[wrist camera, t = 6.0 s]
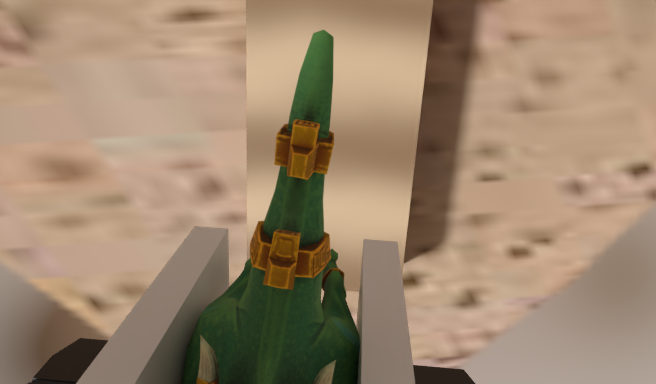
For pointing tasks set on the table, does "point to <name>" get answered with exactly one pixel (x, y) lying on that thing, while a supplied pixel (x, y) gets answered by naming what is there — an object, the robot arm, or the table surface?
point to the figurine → (286, 266)
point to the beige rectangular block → (342, 112)
